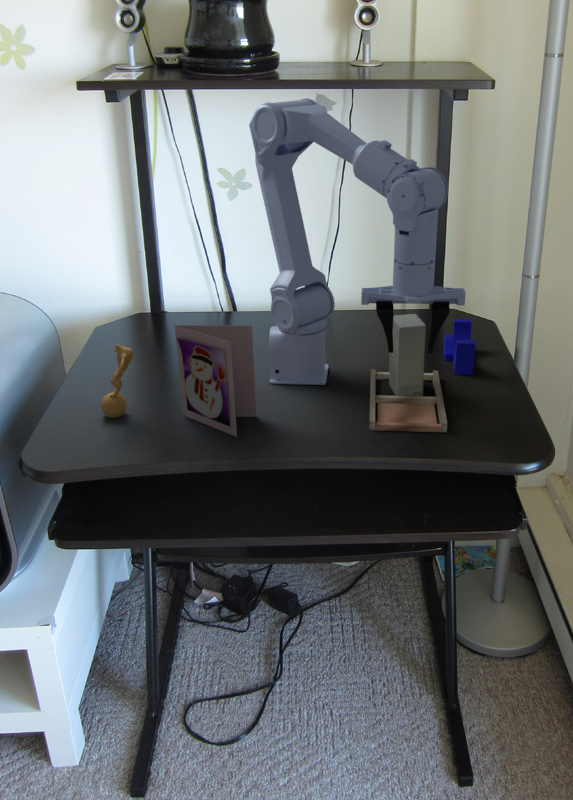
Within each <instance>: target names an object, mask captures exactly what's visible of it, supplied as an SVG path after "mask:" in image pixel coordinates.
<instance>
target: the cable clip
mask: <svg viewBox="0 0 573 800" xmlns="http://www.w3.org/2000/svg"><path fill="white" fill-rule="evenodd" d="M471 336H472V319H463V318H461V319H459V318H454V319H453V329H452V334H451V333H450V334H449V333H448V334H445V333H444V338H443V358H444V359H443V361H445V362H453V364H452V365H453V372H454V375H455V376H473V375H474V374H473V373H474V363H475V354H476V353H475V352H476V340H471Z"/></svg>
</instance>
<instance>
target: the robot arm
mask: <svg viewBox="0 0 573 800" xmlns="http://www.w3.org/2000/svg"><path fill="white" fill-rule="evenodd" d="M248 126H249V131H250V136H251V139H252V145H253V147H254V153H255V167H256V171H257V172H256V173H257V177H258V182H259V185H260V189H261V193H262V194H261V195H262V200H263V203H264V209H265V212H266V217H267V222H268V227H269V229H270V230H269V231H270V234H271V239H272V240H271V241H272V243H273V244H272V245H273V249H274V252H275V257H276V262H277V266H278V271H279V273H278V276H277V277H276V279H274V280H275V281H274V282H273V283H272V285H271V287H269V291H270V296H271V302H270V304H271V305H270V312H271V313H270V314H271V318H272V321H273V322H274V324H275V325H273V326H271V327H270V329H269V337H268V342H269V343H268V354H269V355H268V357H269V360H268V361H269V363H268V366H269V384H272V385H273V384H274V385H275V384H276V385H306V386H308V385H310V386H313V385H315V386H316V385H317V386H325V385H326V384H327V379H328V372H329V364H327V363H326V349H325V348H326V332H325V331H326V325H328V318H330V316H331V315H332V314H333V313H334V310H335V306H336V305H335V303H336V302H335V298H334V295H333V293H332V292H333V291H331V288H330V287H329V286H328V283H327V279H326V275H325V274H324V273H323V272H321V271H320V270H319V269H317V268H316V267H314V266H313V262H312V258H311V253H310V247H309V244H308V239H307V233H306V229H305V224H304V219H303V215H302V210H301V205H300V199H299V195H298V191H297V187H296V186H297V185H296V182H295V176H294V172H293V166H294V165H295V163H296V162H297V160H298V159H299V157H300V156H301V155H302V154H303V153H304V152H305V151H306V150H307V149H308V148H309V147H310V146H311V145H312V144H313V143H315V144H316V145H319V146H320V147H321V148H324V149H325V150H326V151H328V152H331V153H333V154H334V155H335V156H337V157H338V158H340V159H342V160H344V161H346V162H347V163H349V164H351V165H352V170H353V175H354V177H355V178H356V179H358V180H359V181H361V183H364V184H365V185H367V187H369V188H371V189H372V190H373V191H375V192H377V193H378V194H380V195H381V196H382V197H384V198H385V199H386V202H387V205H388V208H389V209H390V212H391V213H392V225H393V226H394V244H393V245H394V249H393V268H392V269H393V270H392V271H393V274H392V285H387V286H377V287H362V288H361V296H360V297H361V298H360V299H361V300H360V301H361V306H362V305H363V306H368V305H369V304H375V313H376V314H377V317H378V319H379V321H380V323H381V325H382V328H383V331H384V334H385V338H386V342H387V352H388V354H390V353H393V316H394V315H395V314H394V313H395V312H394V304H395V305H396V304H397V305H398V304H404V305H405V304H407V305H409V304H410V305H411V304H412V305H415V304H419V305H420V304H422V305H423V304H424V305H427V304H429V317H428V318H429V320H428V330H427V331H428V332H427V339H426V352H427V354H433V352H434V347H435V342H436V340H437V337H438V335H439V333H440V331H441V330H442V329H441V328H442V326H443V325H444V323H445V322H446V320H447V319H448V317H449V315H450V312H451V308H450V305H456V306H462V307H463V306H465V304H466V292H467V291H466V290H465V288H463V287H462V288H459V287H458V288H457V287H446V286H445V287H444V286H435V285H434V284H435V271H436V270H435V268H436V255H437V254H436V252H437V236H438V235H437V234H438V223H439V221H438V219H439V209H440V208H441V207H442V206H443V205H444V204H445V203H446V201H447V198H448V192H449V187H448V186H449V185H448V182H447V180H446V178H445V176H444V175H443V174H442V172H440V171H439V170H438V168H436V167H435V166H426V167H419V166H418V165H417V164H418V163H417V161H416V160H415V159H412V158H410V159H407V158H406V157H404V156H403V155H401V154H400V153H398V152H397V151H395V150H394V149H392V143H391V142H389V141H388V140H386V139H385V140H372V141H369V142H366V141H364V140H363V139H362V138H361V137H359V136H358V135H357V134H355V132H353V131H351V130H350V129H349V128H347V127H346V126H345V125H343V124H342V123H341V122H339V120H337V118H335V117H333V116H332V115H331V114H329V113H328V112H327V107H326V106H325V105H323V104H318V103H317V102H316V101H315V100H314V99H312V98H301V99H299V100H298V99H297V100H288V101H279V102H269V101H268V102H267V101H266V102H263V103H261V104H259V105H258V106H257V108H256V109H255V111H254V113H253V116H252V118H251V119H250V122H249V125H248Z"/></svg>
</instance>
